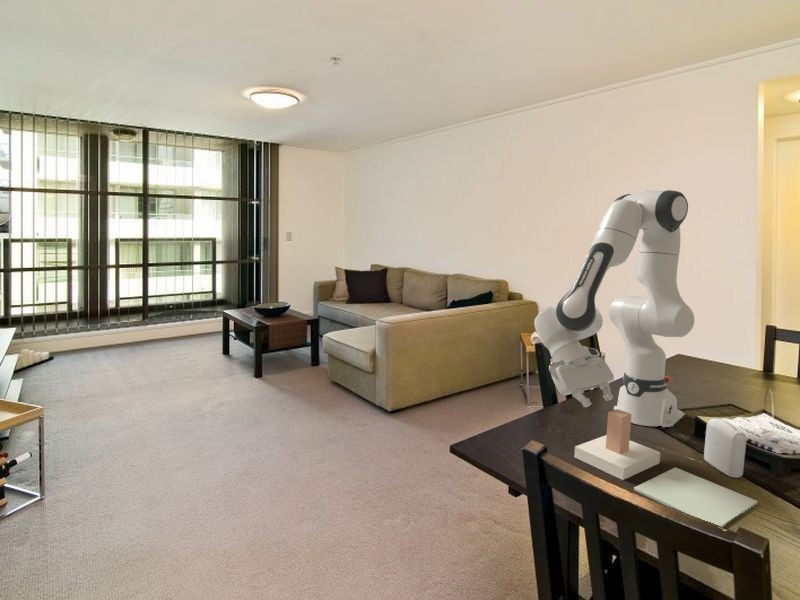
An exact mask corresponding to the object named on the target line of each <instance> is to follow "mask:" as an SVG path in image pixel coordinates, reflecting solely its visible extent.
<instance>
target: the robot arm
mask: <svg viewBox="0 0 800 600" xmlns="http://www.w3.org/2000/svg"><path fill="white" fill-rule="evenodd" d="M688 211H689V203H688V199H687V198H686V196H685V195H684V193H682V192H681V191H677V190H671V189H668V190H648V191H647V190H646V191H644V192H636V193H631V194H630V193H628V194H623V195H621V196H619V197H617V198H615V200H614V201H613V202H612V203H611V204H609V206H608V208H607V209H606V211H605V212H604V214H603V216H602V218H601V220H600V221H599V224H598V226H597V229H596V230H595V233H594V236H593V238H592V241H591V245H590V248H589V250H588V253H587V255H586V257H585V259H584V261H583V262H582V265H581V268H580V270H579V272H578V274H577V276H576V278H575V280H574V283H572V286H571V287H570V289H569V291H568V292H566V293H565V295H563V296H562V297H561V299H560V300H559V302H557V305H556V306H555V307H553V306H548V307H546V308H544V309H542V310H541V311H540V312H539V313H537V315H536V317H535V318H534V321H533V324H534V329H535V331H536V333H537V337H539V339H540V340H541V343H542V344H543V346H544V347H545V348H547V350H548V351H549V354H550V356H551V359H552V360H553V362H551V363H550V364H549V366H548V370H549V373H550V374H551V379H552V381H553V383H554V385H555V387H556V389H557V391H558V393H559V394H560V395H561V396H562V397H563V396H564V397H565V396H568V395H572V396H573V398H575V399H576V400H577V401H578V402H579V403H580V404H581V405H582V406H583V408H587V407H590V406H591V405H592V402H591V400H590V398H589V397H586V396H585V395H584V394H583V392H584V391H588V390H592V389H595V388H599V389H600V390H601V391H602V392H603V395H602V397H603V399H604V400H605V401H607V402H608V401H611V400H612V399H614V396H613V394H612V393H611V387H610V383H611V382H613V381H614V379H615V376H614V374H613V372H612V370H611V369H610V367H609V365H608V364H607V363H606V361H605V360H604V359H603V358H602V357H600V355H601V353H600V352H599V350H598V349H597V348H593V347H588V346H585V345H582V343H580V341H581V340H585V339H587V338H590V337H593V336H595V335H596V334H597V333H599V332H600V330H601V328H602V326H603V323H604V322H603V316H602V314H601V312H600V311H599V310H598V308H597V307H596V295H597V293H598V290H599V288H600V286H601V284H602V282H603V279H604V277H605V275H606V273H607V272H608V271H609V269H610V268H612V267H619V266H620V265H622V264H624V263H626V261H627V260H628V258H629V257H630V255H631V253H632V251H633V249H634V247H635V245H636V242H637V239H638V235H639V234H640V230H642V237H641V241H640V245H639V249H638V258H637V263H636V269H635V270H636V271H635V276H636V277H635V278H636V280H637V281H638V282H639V283H641V284H642V285H643V286H645V288H646V290H647V293H648V297H644V296H643V297H642V296H636V295H635V296H633V295H631V296H630V295H628V296H619V297H616V298H615V299H614V300H613V301H612V302H611V304H610V307H609V309H608V310H609V311H608V314H609V315H608V316H609V318H610V321H611V322H612V324H613V325H614V326H615V327H616V328H617V329H618V331H619V333H620V335H621V337H622V340H623V343H624V346H625V353H626V354H625V361H626V362H625V372H624V373H623V376H622V377H623V379H622V384H623V385H621V387H620V388H619V392H618V399H617V405H614V406H613V410H616V409H619V410H621V411H624V412H627V413H630V414H632V415H631V424H635V425H639V426H643V427H644V426H646V427H658V426H662V427H661V428H665V427H671V426H672V427H674V426H675V425H676V424H677V423H678V422H679V421H680V420H679V419H681V418H682V417H683V416H684V415H685V412H683V411H682V410H680V409H678V399H677V397H676V395H674V394H673V393H672V392H671V391H670V390H669V389H668V386H667V384H670V383H671V382H672V377H671V376H667V375H665V373H666V362H667V361H666V360H667V355H666V353H665V351H664V350H663V348H662V347H661V346H659V345H658V344H657V342H656V341H655V340H654V337H653V335H654V336H661V337H666V338H683V337H685V336H687V335H688V334H689V333H690V332H691V331H692V330H693V328H694V326H695V325H694V324H695V315H694V314H695V313H694V312H693V310H692V309H691V307H690V306H689V305H687V303H686V302H685V301H684V300H683V298H682V296H681V294H680V292H679V291H680V290H679V288H678V283H677V279H678V277H677V276H678V266H679V257H680V251H681V227H680V226H681V225H682V223H683V222H684V221H685V219H686V217H687V215H688ZM684 417H685V416H684ZM684 417H683V418H684ZM683 418H682V419H683ZM682 419H681V420H682ZM678 420H679V421H678ZM677 421H678V422H677ZM676 422H677V423H676ZM675 423H676V424H675ZM674 424H675V425H674ZM672 427H671V428H672Z"/></svg>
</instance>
